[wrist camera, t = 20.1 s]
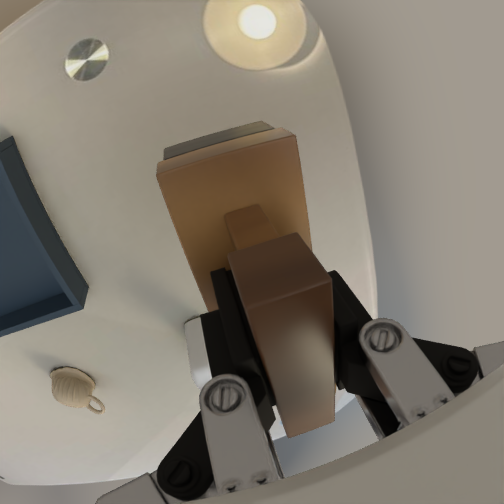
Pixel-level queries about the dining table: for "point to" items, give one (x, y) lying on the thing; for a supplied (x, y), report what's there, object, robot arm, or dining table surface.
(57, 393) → the decorative ornament
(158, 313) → the dining table surface
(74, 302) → the tray
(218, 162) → the brush
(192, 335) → the eye dropper bottle
